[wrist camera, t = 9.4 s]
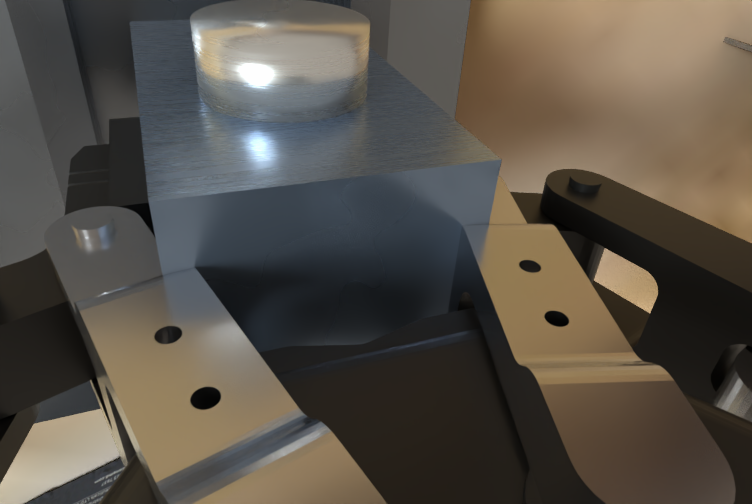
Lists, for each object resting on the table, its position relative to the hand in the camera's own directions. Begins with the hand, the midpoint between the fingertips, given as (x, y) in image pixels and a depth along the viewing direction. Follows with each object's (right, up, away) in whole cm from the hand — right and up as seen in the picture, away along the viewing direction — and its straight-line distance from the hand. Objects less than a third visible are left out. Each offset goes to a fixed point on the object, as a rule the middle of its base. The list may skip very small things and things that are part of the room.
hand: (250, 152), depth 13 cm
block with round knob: (0, 0, +1) cm, 1 cm away
